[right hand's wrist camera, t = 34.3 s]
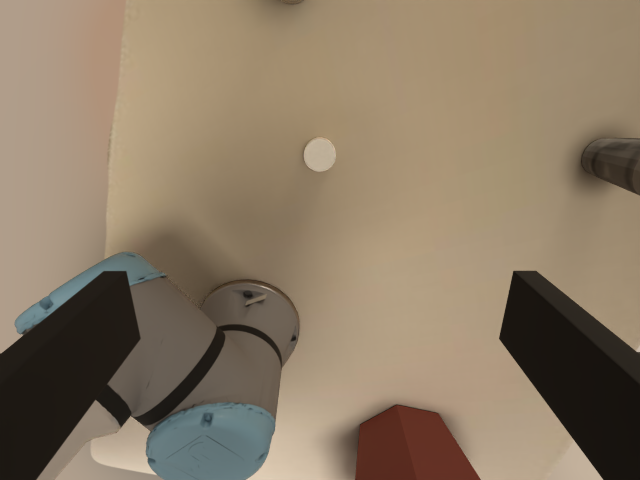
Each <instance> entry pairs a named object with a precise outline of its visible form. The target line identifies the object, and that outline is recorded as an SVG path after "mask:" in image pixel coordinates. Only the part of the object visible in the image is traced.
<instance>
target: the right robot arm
mask: <svg viewBox="0 0 640 480" xmlns="http://www.w3.org/2000/svg"><path fill="white" fill-rule="evenodd" d="M15 326H16V328H17V332H18V333H19V334H23V336H22V337H21V338H20V339H19V340H17V341H16V342H15V343H14V344H13V345H11V346H10V347H9V348H8V349H6V350H5V351H4V352H3V353H1V354H0V480H55V479H56V477H57V476H58V475H59V474H60V473H61V471H62V470H63V469H64V468H65V467H66V465H67V464H68V463H69V462H70V461H71V460H72V458H73V457H74V456H75V455H76V454H77V453H78V451H79V450H80V449H81V448H82V447H83V445H84V444H85V443H86V442H88V441H90V440H92V439H94V438H98V437H102V436H105V435H109V434H113V433H117V432H118V430H119V429H120V428H121V427H122V426H123V425H124V423H125V422H126V421H127V420H128V418H129V417H130V416H132V417H133V418H134V419H136V420H137V421H138V422H140V423H141V424H142V425H143V426H145V427H146V428H147V429H149V430H150V431H151V432H150V434H149V437H148V438H147V442H146V445H147V447H146V455H147V457H148V464H149V466H150V467H151V469H152V470H153V471H154V472H155V473H156V474H157V475H158V476H160V477H161V478H163V479H164V480H246V479H247V478H249V477H251V476H252V475H253V474H254V473H256V472H257V471H258V470H259V468H260V467H261V466H262V465H263V463H264V462H265V460H266V458H267V455H268V452H269V448H270V444H271V439H272V435H273V434H274V431H275V426H276V425H275V421H276V412H277V404H278V395H279V386H280V378H281V370H282V367H283V366H284V364H285V363H286V361H287V360H288V358H289V357H290V355H291V354H292V352H293V351H294V348H295V346H296V344H297V341H298V336H299V317H298V314H297V311H296V309H295V307H294V305H293V303H292V302H291V301H290V299H289V298H288V297H287V296H286V295H285V294H284V293H282V292H281V291H280V290H278V289H277V288H275V287H273V286H271V285H269V284H266V283H263V282H260V281H254V280H238V281H233V282H229V283H226V284H224V285H222V286H220V287H218V288H216V289H215V290H214V291H213V292H211V293H210V294H209V296H208V297H207V298H206V299H205V301H204V303H203V304H202V306H201V308H200V309H199V308H198V307H197V306H196V305H195V304H194V303H193V302H192V301H191V300H190V299H189V298H187V297H186V296H185V295H184V294H183V293H182V292H181V291H180V290H179V289H178V288H177V287H176V286H175V285H174V284H173V283H172V282H171V281H170V280H169V279H168V278H167V275H166V274H165V273H162V272H159V271H158V270H157V269H156V268H155V267H153V266H152V265H151V264H150V263H149V262H148V261H146V260H145V259H144V258H143V257H142V256H140V255H138V254H136V253H133V252H122V253H118V254H115V255H113V256H111V257H109V258H107V259H105V260H103V261H101V262H100V263H98V264H96V265H94V266H93V267H91V268H89V269H87V270H86V271H84V272H82V273H81V274H79V275H77V276H76V277H74V278H73V279H71V280H70V281H68V282H66V283H65V284H63V285H62V286H60V287H59V288H57V289H56V290H54V291H53V292H51V293H50V294H49V296H47V297H45V298H43V299H42V300H41V301H39V302H38V303H36V304H34V305H32V306H31V307H30V308H28V309H27V310H26V311H25V312H23V313H22V314H21V315H20V316H19V317H18V318H17V319H16V320H15ZM499 339H500V341H501V342H502V343H503V345H504V346H505V347H506V349H507V350H508V351H509V353H510V354H511V355H512V357H513V358H514V359H515V361H516V362H517V364H518V365H519V366H520V368H521V369H522V370H523V372H524V373H525V374H526V376H527V377H528V378H529V380H530V381H531V382H532V384H533V385H534V386H535V388H536V389H537V391H538V392H539V393H540V395H541V396H542V397H543V399H544V400H545V401H546V403H547V404H548V405H549V407H550V408H551V409H552V411H553V412H554V414H555V415H556V416H557V418H558V419H559V420H560V422H561V423H562V424H563V426H564V427H565V428H566V430H567V431H568V432H569V434H570V435H571V436H572V438H573V439H574V441H575V442H576V443H577V445H578V446H579V447H580V449H581V450H582V451H583V453H584V454H585V455H586V457H587V458H588V459H589V461H590V462H591V464H592V465H593V466H594V467H595V469H596V470H597V471H598V473H599V474H600V476H601V477H602V478H603V480H640V352H636V351H635V350H634V349H632V348H631V347H630V346H629V345H627V344H626V343H625V342H624V341H622V340H621V339H620V338H619V337H618V336H616V335H615V334H614V333H613V332H611V331H610V330H609V329H608V328H606V327H605V326H604V325H603V324H601V323H600V322H599V321H598V320H596V319H595V318H594V317H593V316H591V315H590V314H589V313H588V312H586V311H585V310H584V309H583V308H582V307H580V306H579V305H578V304H577V303H575V302H574V301H573V300H572V299H570V298H569V297H568V296H567V295H565V294H564V293H563V292H562V291H560V290H559V289H558V288H557V287H555V286H554V285H553V284H552V283H551V282H549V281H548V280H547V279H546V278H544V277H543V276H542V275H541V274H539V273H538V272H537V271H513V276H512V280H511V285H510V290H509V295H508V299H507V304H506V309H505V313H504V318H503V323H502V328H501V332H500V337H499Z"/></svg>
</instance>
